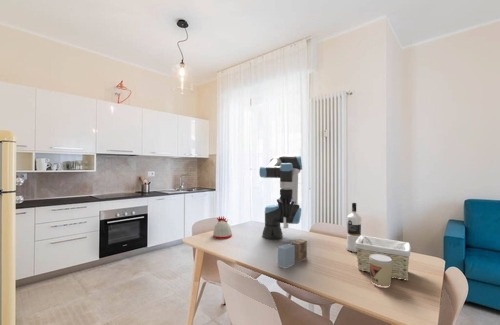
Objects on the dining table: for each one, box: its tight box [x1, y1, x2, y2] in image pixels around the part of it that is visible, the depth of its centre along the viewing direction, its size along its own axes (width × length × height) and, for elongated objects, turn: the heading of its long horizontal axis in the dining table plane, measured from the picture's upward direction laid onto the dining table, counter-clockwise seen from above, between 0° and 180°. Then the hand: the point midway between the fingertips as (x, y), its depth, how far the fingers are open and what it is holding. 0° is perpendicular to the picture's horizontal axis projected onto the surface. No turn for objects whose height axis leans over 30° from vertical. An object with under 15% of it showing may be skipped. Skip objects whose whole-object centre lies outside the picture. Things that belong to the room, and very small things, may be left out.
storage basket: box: [355, 234, 411, 281], centre depth 122 cm, size 24×16×15 cm
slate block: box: [277, 243, 296, 269], centre depth 128 cm, size 8×5×10 cm, turn 134°
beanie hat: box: [212, 215, 233, 240], centre depth 178 cm, size 14×14×15 cm
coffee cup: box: [369, 254, 393, 286], centre depth 108 cm, size 9×9×12 cm
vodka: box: [345, 202, 362, 253], centre depth 151 cm, size 9×9×30 cm
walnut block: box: [290, 238, 308, 263], centre depth 137 cm, size 8×5×10 cm, turn 134°
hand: (285, 227), depth 143 cm, fingers closed
